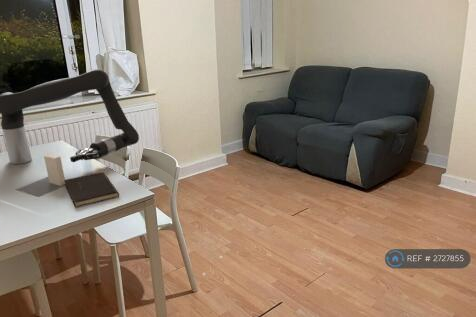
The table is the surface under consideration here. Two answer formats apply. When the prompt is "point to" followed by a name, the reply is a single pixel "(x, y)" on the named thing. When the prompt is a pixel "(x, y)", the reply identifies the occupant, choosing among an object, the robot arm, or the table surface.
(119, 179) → the table surface
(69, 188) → the hardcover book
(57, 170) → the cream box
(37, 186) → the charcoal mat
